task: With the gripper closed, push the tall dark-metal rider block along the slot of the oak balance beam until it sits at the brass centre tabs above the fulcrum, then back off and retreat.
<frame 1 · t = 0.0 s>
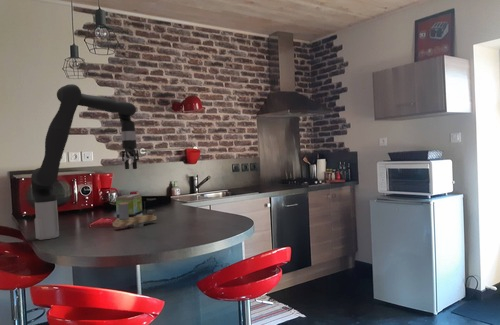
hand: (131, 169, 216), 29 cm above the countertop, fingers open, 8 cm apart
tea box: (130, 222, 218), on the countertop
beam: (135, 226, 201), on the countertop
rider: (123, 211, 196), point 9 cm above the countertop, slide at 0.0 cm
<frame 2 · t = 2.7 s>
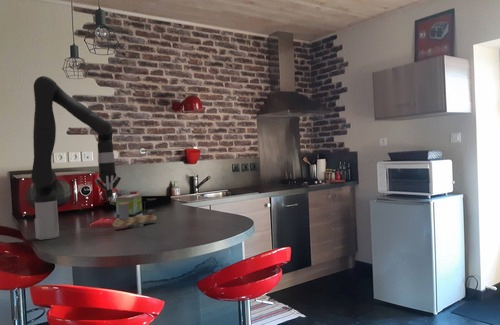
hand: (109, 197, 191), 17 cm above the countertop, fingers closed
nothing on the countertop moved.
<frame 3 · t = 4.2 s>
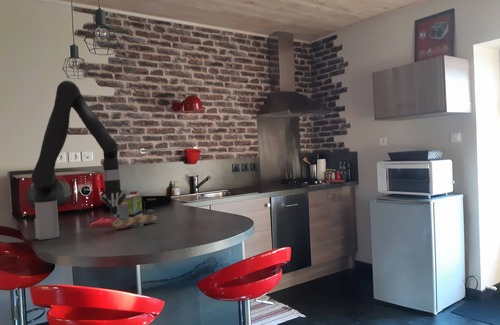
hand: (114, 214, 192), 8 cm above the countertop, fingers closed
nothing on the countertop moved.
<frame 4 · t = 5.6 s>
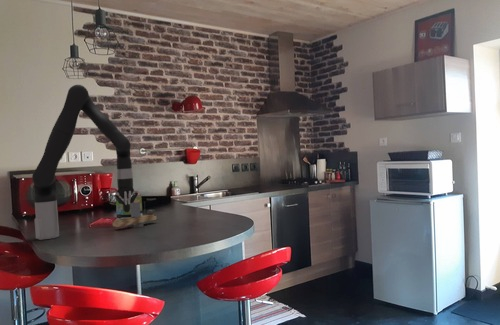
hand: (126, 212, 197), 8 cm above the countertop, fingers closed
rider: (135, 209, 201), point 9 cm above the countertop, slide at 6.6 cm, touching hand
everything else where it was.
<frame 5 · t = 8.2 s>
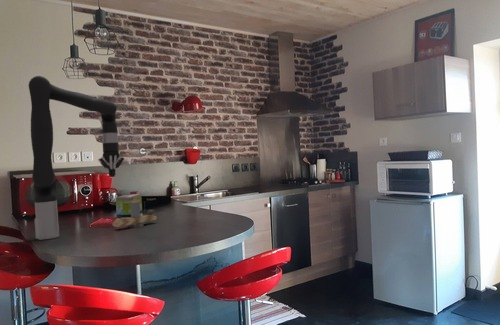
hand: (112, 176, 196), 26 cm above the countertop, fingers closed
rider: (135, 209, 201), point 9 cm above the countertop, slide at 6.5 cm
everything else where it was.
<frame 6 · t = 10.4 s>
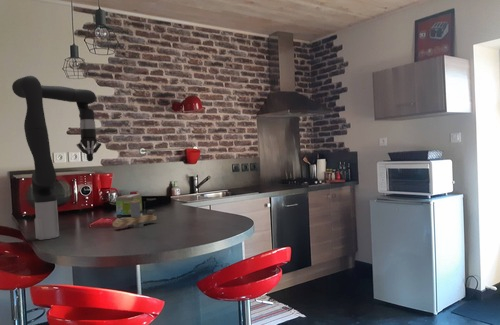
hand: (90, 161, 208), 35 cm above the countertop, fingers closed
nothing on the countertop moved.
at the end: rider slide at 6.5 cm; rider 0.9 cm off-centre on the beam, point 8.6 cm above the beam's base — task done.
